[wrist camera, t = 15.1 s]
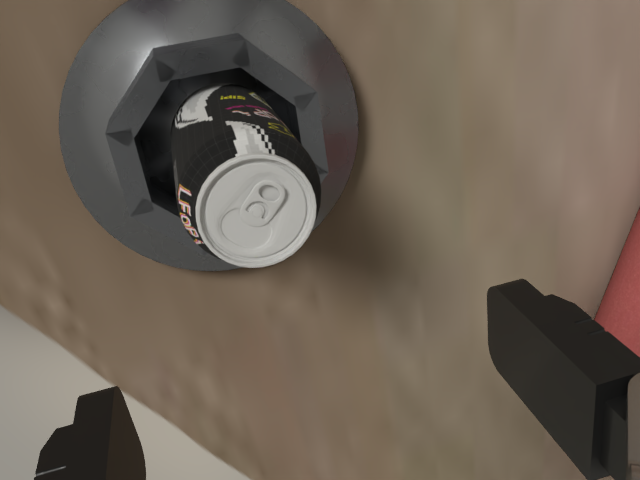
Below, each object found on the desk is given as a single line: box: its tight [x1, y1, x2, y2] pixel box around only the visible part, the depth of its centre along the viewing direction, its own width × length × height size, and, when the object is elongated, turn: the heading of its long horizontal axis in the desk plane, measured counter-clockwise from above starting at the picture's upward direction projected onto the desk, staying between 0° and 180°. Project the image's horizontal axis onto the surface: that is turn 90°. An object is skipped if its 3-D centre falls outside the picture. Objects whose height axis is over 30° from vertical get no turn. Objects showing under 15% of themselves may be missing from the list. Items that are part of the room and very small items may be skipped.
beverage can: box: [170, 83, 321, 268], centre depth 28 cm, size 6×6×12 cm
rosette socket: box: [59, 0, 359, 271], centre depth 33 cm, size 16×16×4 cm
